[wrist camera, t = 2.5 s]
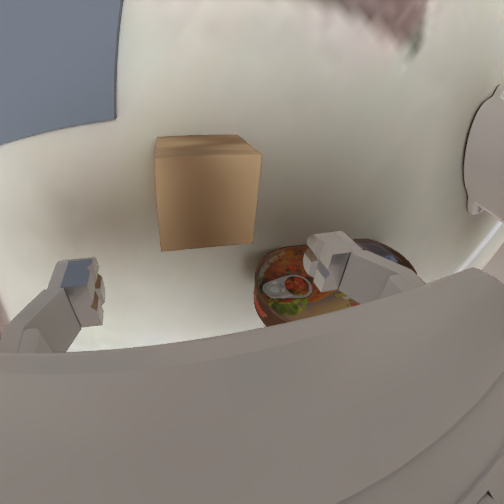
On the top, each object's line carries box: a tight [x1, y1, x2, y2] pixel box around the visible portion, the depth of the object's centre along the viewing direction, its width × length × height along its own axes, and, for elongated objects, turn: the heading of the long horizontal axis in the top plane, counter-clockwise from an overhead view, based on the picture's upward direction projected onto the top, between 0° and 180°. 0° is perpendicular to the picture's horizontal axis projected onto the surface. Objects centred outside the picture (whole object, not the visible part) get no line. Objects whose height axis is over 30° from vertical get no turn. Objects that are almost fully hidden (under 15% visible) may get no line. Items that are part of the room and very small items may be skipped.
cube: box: [154, 135, 262, 252], centre depth 15 cm, size 5×5×5 cm
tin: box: [254, 239, 417, 327], centre depth 22 cm, size 15×3×8 cm, turn 85°
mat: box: [0, 0, 123, 145], centre depth 8 cm, size 12×12×1 cm
